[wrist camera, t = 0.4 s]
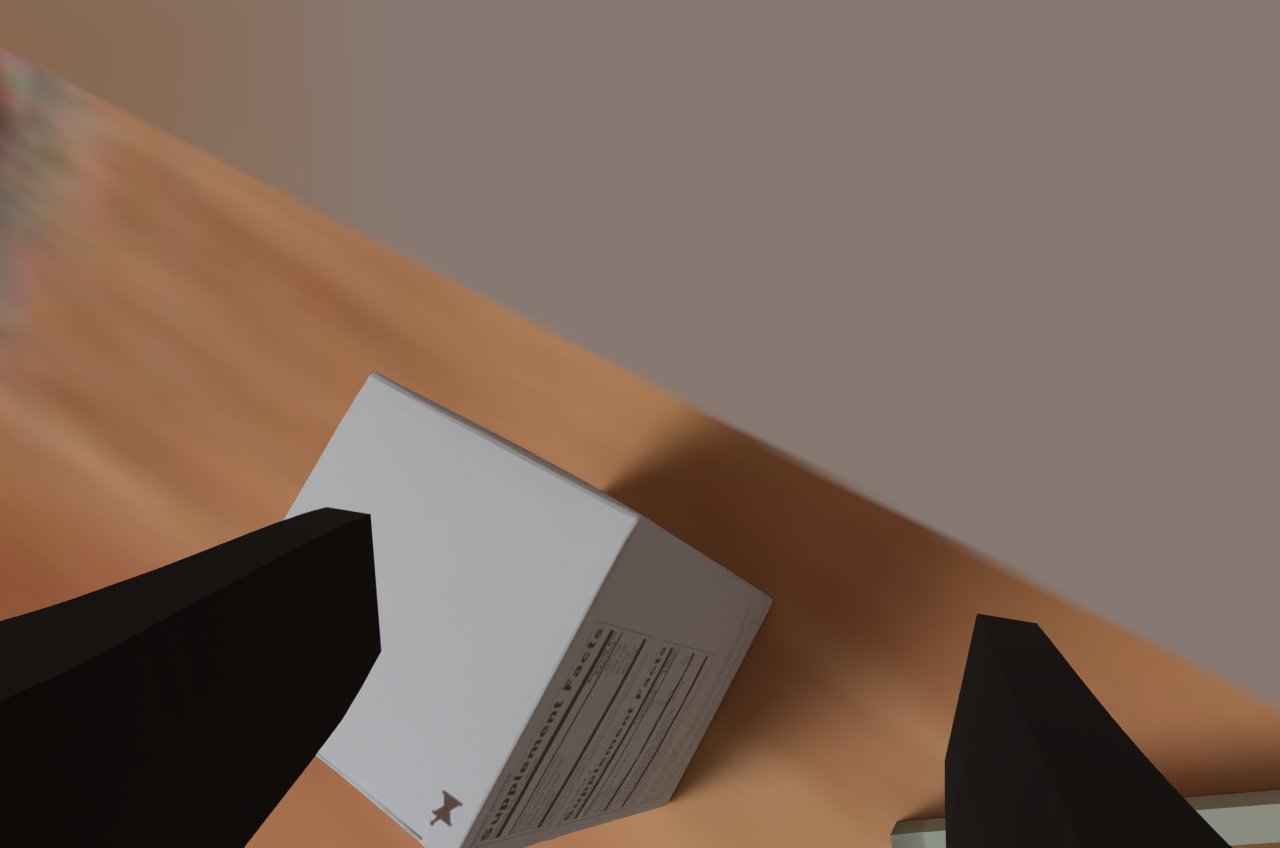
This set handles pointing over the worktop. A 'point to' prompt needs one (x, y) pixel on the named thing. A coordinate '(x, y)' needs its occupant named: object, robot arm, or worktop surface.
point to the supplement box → (518, 633)
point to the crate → (1227, 814)
